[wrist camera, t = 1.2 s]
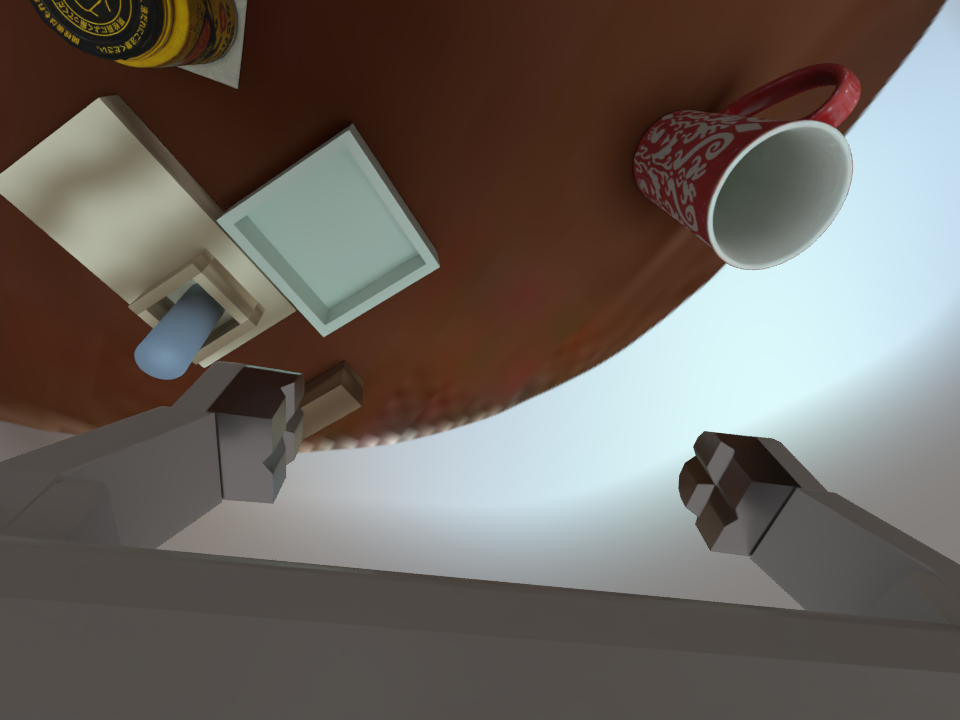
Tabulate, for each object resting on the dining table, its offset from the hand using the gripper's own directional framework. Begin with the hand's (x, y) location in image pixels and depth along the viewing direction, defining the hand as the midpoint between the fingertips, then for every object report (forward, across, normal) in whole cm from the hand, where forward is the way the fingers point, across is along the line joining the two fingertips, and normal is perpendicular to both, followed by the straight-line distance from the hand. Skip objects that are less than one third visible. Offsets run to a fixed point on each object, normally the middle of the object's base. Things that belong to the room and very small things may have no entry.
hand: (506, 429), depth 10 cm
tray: (+32, +10, +5) cm, 34 cm away
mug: (+35, -17, -7) cm, 39 cm away
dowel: (+29, +20, +12) cm, 37 cm away
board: (+30, +23, +8) cm, 39 cm away
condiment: (+30, +21, -8) cm, 37 cm away
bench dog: (+33, +11, +22) cm, 41 cm away
